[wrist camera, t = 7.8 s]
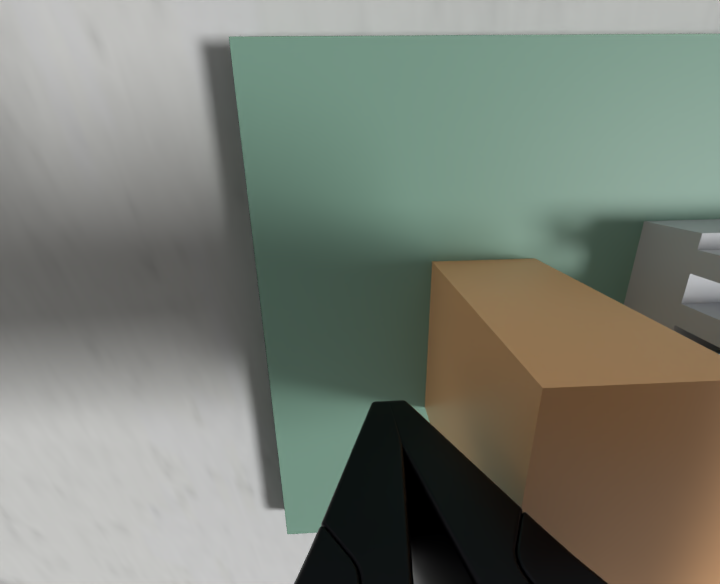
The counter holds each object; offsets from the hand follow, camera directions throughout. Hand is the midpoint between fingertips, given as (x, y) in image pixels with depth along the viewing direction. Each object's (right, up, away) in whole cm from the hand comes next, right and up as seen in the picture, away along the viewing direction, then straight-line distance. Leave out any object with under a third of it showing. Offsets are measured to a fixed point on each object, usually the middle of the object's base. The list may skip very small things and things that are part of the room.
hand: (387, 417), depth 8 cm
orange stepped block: (+5, +1, +4) cm, 6 cm away
